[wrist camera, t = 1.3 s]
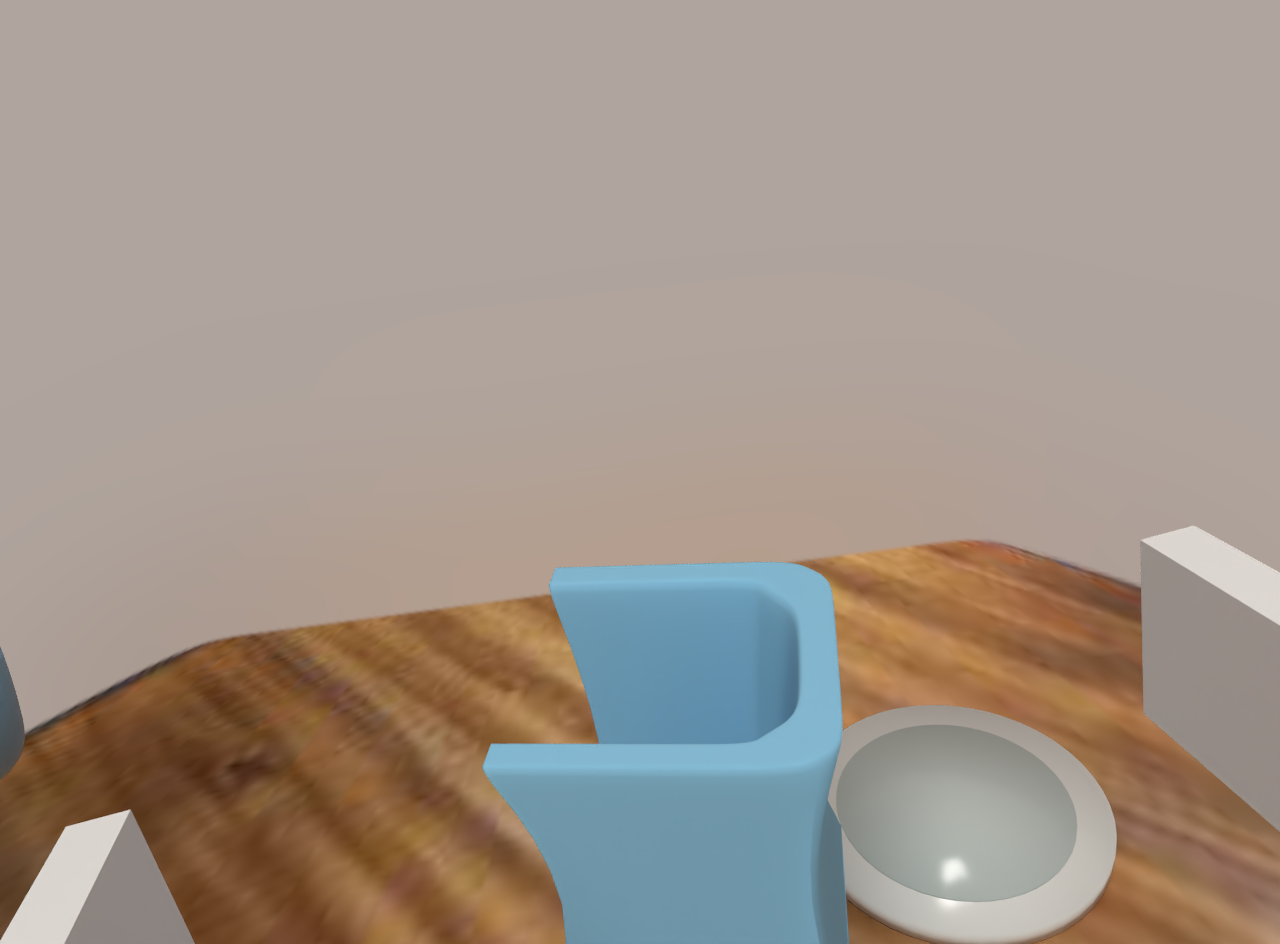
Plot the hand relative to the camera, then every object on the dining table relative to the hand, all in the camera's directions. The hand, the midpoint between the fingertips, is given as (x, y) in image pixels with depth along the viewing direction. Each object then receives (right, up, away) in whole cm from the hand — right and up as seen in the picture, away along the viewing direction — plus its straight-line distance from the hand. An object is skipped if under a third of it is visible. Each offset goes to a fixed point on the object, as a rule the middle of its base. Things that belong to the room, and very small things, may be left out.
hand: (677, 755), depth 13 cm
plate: (+13, -12, +31) cm, 36 cm away
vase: (+3, -19, +21) cm, 28 cm away
